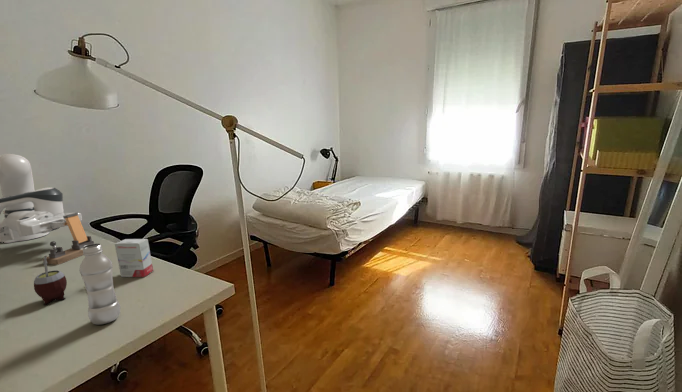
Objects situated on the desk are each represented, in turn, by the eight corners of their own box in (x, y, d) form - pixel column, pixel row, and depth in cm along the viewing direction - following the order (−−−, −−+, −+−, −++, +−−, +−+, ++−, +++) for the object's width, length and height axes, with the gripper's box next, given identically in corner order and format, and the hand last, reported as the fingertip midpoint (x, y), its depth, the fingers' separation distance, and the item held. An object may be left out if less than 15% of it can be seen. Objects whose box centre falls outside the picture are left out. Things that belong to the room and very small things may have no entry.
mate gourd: (53, 294, 100) (42, 246, 97) (78, 293, 99) (68, 245, 96) (29, 307, 92) (16, 256, 89) (57, 306, 92) (45, 255, 89)
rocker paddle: (74, 244, 133) (62, 216, 131) (85, 240, 137) (73, 213, 135) (78, 243, 132) (66, 215, 130) (88, 239, 136) (77, 212, 134)
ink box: (154, 271, 114) (148, 238, 111) (144, 277, 109) (138, 243, 106) (130, 270, 114) (125, 238, 112) (120, 277, 110) (113, 243, 107)
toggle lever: (51, 252, 124) (47, 242, 124) (56, 250, 126) (52, 241, 125) (55, 251, 124) (51, 241, 123) (60, 249, 125) (56, 240, 125)
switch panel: (43, 263, 124) (40, 249, 123) (85, 248, 139) (82, 235, 138) (58, 264, 122) (55, 250, 121) (98, 249, 137) (95, 236, 136)
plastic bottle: (100, 314, 87) (85, 242, 83) (127, 312, 88) (114, 240, 84) (84, 329, 81) (67, 251, 77) (113, 327, 81) (98, 249, 77)
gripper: (69, 222, 147) (93, 223, 143) (14, 237, 127) (41, 239, 124) (66, 208, 145) (90, 209, 142) (10, 221, 126) (37, 223, 123)
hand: (67, 223), depth 133 cm, fingers closed
